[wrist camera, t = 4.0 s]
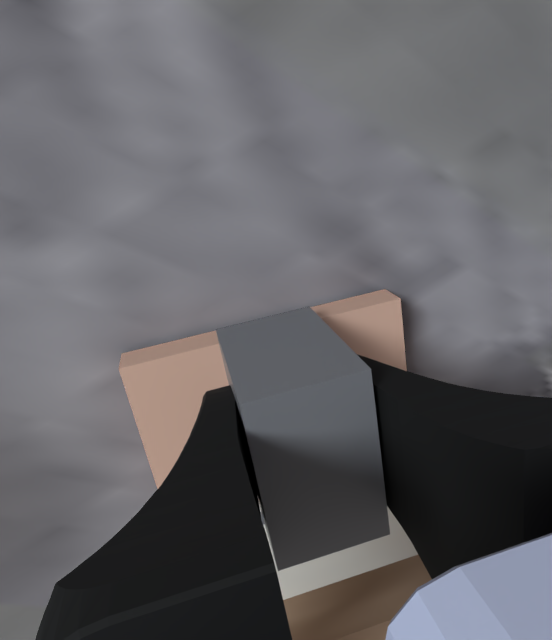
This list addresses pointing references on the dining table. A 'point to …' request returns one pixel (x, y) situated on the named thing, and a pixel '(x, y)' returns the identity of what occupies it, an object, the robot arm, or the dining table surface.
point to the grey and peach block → (285, 414)
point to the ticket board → (345, 560)
